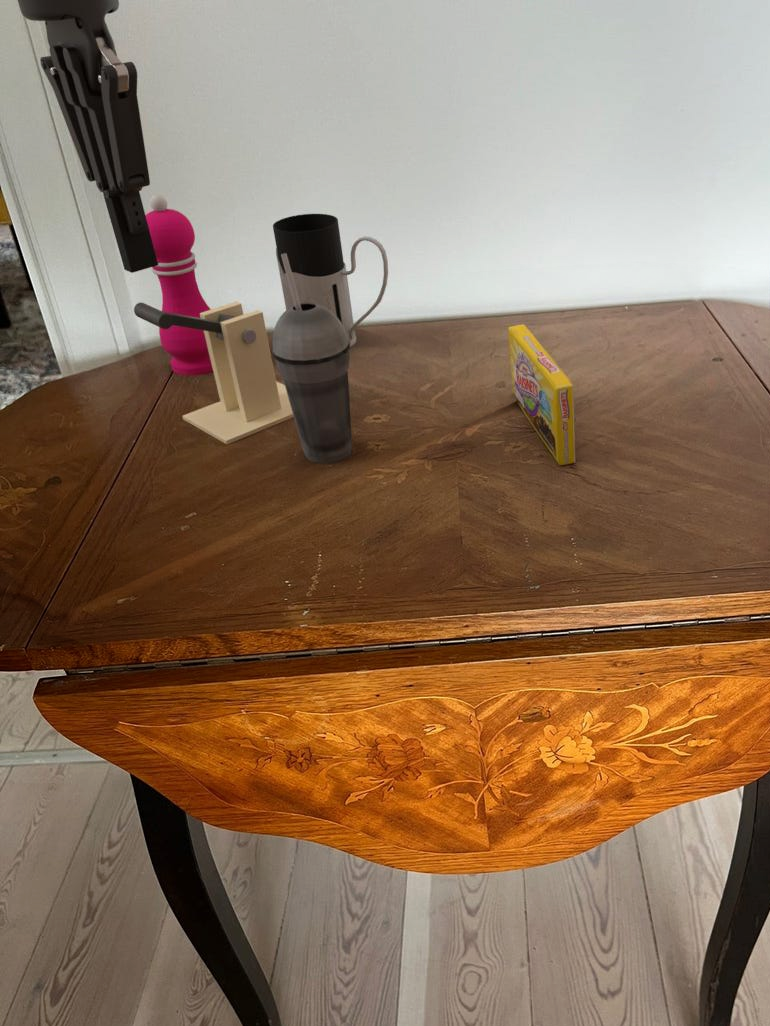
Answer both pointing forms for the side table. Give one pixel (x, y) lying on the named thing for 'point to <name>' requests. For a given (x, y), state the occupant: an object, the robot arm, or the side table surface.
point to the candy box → (543, 393)
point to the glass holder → (320, 265)
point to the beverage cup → (315, 376)
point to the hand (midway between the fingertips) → (141, 267)
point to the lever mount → (241, 378)
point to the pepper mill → (178, 287)
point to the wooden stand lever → (179, 319)
